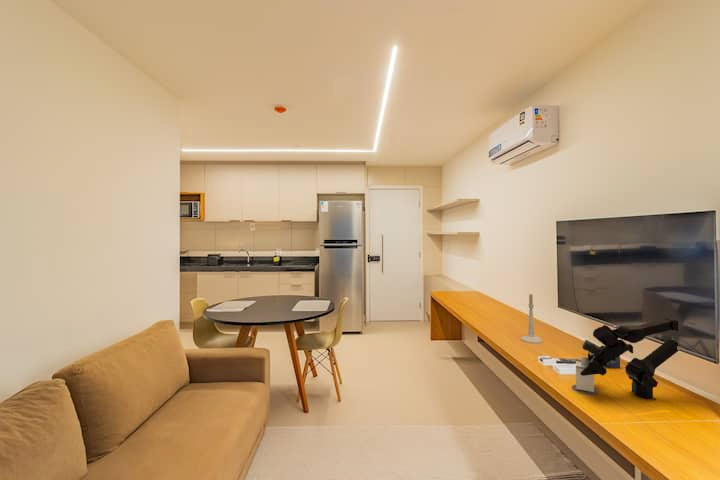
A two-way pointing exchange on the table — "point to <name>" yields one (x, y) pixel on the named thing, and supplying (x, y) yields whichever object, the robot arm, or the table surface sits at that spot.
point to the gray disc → (585, 391)
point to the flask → (614, 363)
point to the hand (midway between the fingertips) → (581, 371)
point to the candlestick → (531, 326)
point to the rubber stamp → (587, 380)
